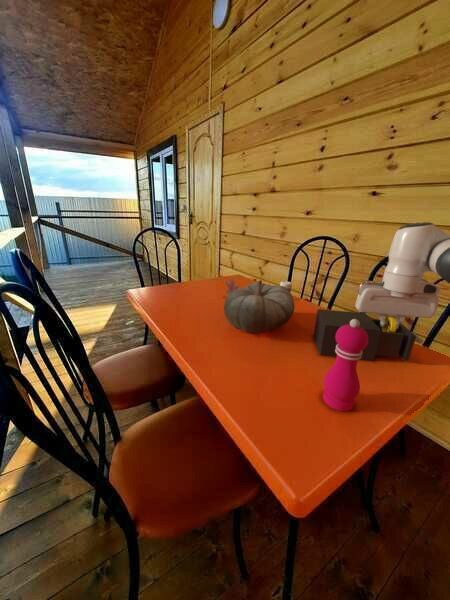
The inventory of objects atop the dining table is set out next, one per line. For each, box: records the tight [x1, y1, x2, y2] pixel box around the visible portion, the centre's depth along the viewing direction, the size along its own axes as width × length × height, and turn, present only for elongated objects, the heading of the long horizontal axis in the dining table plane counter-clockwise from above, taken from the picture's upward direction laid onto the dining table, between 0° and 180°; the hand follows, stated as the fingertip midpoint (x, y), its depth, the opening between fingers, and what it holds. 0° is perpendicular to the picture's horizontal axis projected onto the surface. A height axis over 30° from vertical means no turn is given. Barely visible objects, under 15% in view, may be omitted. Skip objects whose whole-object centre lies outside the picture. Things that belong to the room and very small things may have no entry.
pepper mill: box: [322, 319, 368, 412], centre depth 53 cm, size 7×7×20 cm
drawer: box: [370, 318, 424, 362], centre depth 77 cm, size 18×12×8 cm, turn 80°
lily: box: [223, 275, 240, 298], centre depth 120 cm, size 12×12×10 cm
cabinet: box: [313, 308, 382, 362], centre depth 78 cm, size 15×13×10 cm
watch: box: [382, 315, 398, 333], centre depth 75 cm, size 6×3×6 cm, turn 170°
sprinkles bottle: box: [279, 280, 293, 294], centre depth 103 cm, size 5×5×14 cm
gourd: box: [223, 280, 296, 336], centre depth 90 cm, size 25×25×17 cm
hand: (388, 327), depth 75 cm, fingers closed on watch
